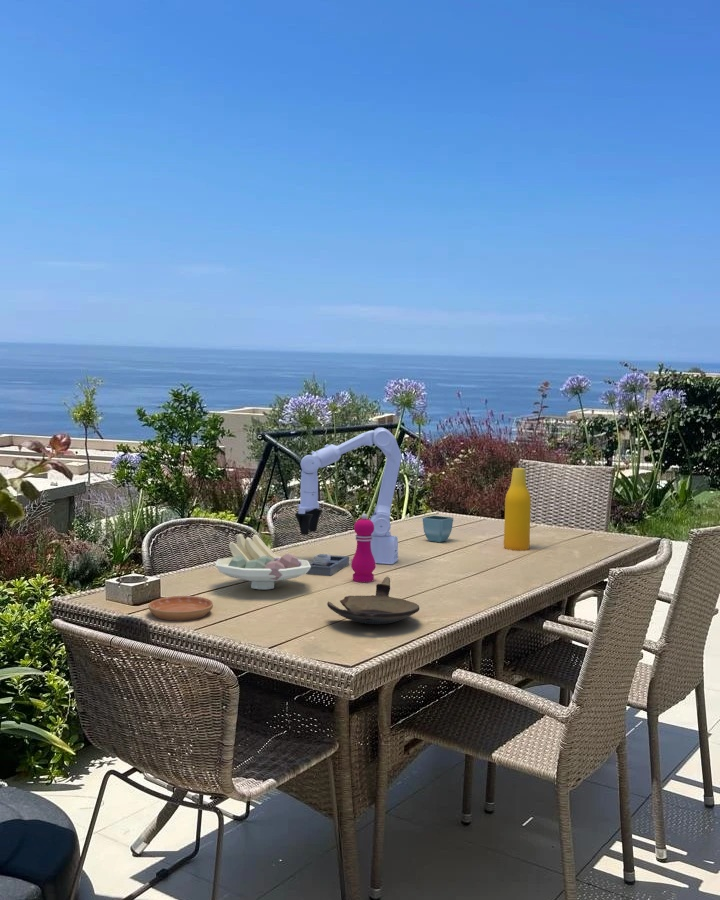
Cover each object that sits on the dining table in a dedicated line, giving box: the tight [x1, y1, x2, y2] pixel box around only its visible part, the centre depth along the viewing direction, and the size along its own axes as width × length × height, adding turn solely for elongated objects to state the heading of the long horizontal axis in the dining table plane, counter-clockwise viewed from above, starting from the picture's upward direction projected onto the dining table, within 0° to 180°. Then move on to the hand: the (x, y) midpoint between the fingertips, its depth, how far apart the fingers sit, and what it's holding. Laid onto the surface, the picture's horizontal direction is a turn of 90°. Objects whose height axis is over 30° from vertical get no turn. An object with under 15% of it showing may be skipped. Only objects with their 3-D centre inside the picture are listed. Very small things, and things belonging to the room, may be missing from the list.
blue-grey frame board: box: [305, 554, 350, 577], centre depth 286 cm, size 8×19×2 cm, turn 163°
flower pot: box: [422, 515, 454, 543], centre depth 340 cm, size 9×9×9 cm
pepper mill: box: [351, 513, 376, 583], centre depth 270 cm, size 7×7×20 cm
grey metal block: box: [313, 553, 331, 566], centre depth 282 cm, size 4×4×5 cm
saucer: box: [148, 595, 214, 621], centre depth 228 cm, size 16×16×3 cm
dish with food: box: [215, 533, 311, 590], centre depth 258 cm, size 28×28×14 cm
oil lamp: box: [327, 576, 420, 625], centre depth 226 cm, size 22×30×8 cm
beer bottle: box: [503, 467, 532, 551], centre depth 327 cm, size 9×9×29 cm
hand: (308, 532), depth 297 cm, fingers open, 7 cm apart
